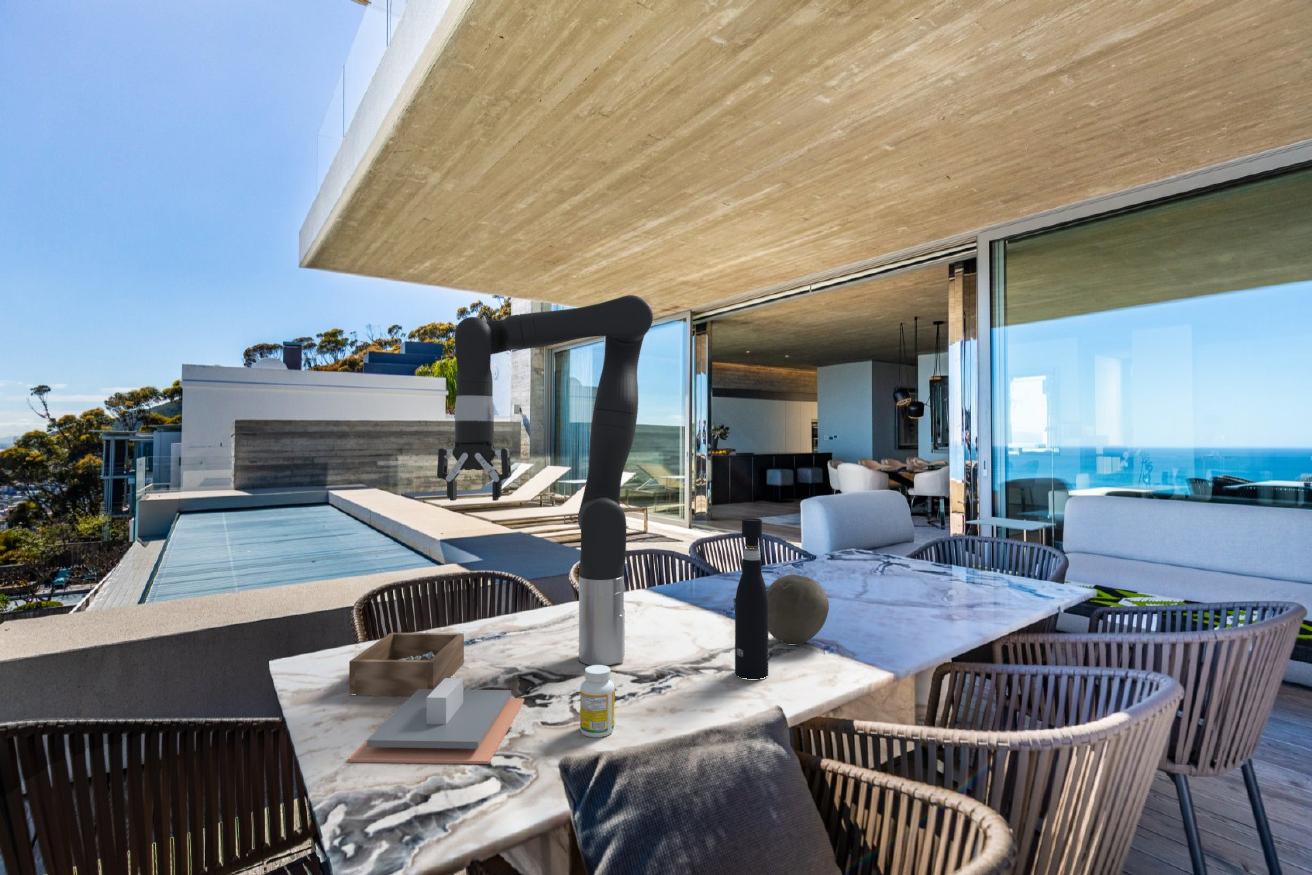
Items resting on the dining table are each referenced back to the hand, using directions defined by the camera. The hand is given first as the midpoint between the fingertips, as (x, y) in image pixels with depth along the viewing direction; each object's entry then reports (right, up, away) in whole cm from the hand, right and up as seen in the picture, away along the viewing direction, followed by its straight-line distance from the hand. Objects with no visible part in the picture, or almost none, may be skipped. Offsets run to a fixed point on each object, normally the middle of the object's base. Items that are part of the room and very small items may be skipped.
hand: (474, 500), depth 131 cm
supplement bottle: (+27, -33, -29) cm, 52 cm away
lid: (+3, -32, -28) cm, 42 cm away
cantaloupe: (+67, -34, +15) cm, 77 cm away
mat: (+3, -33, -28) cm, 44 cm away
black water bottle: (+55, -34, -4) cm, 64 cm away
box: (-10, -33, -7) cm, 35 cm away
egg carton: (-11, -34, -7) cm, 36 cm away
